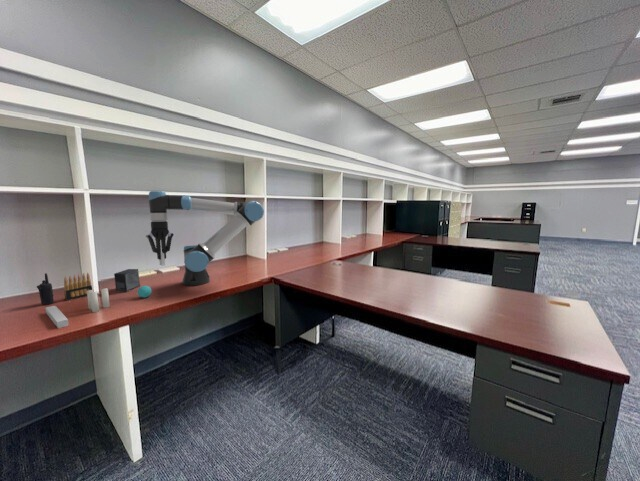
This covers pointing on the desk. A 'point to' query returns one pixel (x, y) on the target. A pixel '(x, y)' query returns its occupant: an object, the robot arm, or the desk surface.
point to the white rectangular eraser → (57, 316)
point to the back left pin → (94, 302)
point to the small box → (127, 280)
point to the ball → (144, 291)
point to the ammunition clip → (77, 287)
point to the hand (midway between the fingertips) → (162, 265)
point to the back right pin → (89, 298)
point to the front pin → (105, 297)
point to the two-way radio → (46, 291)
